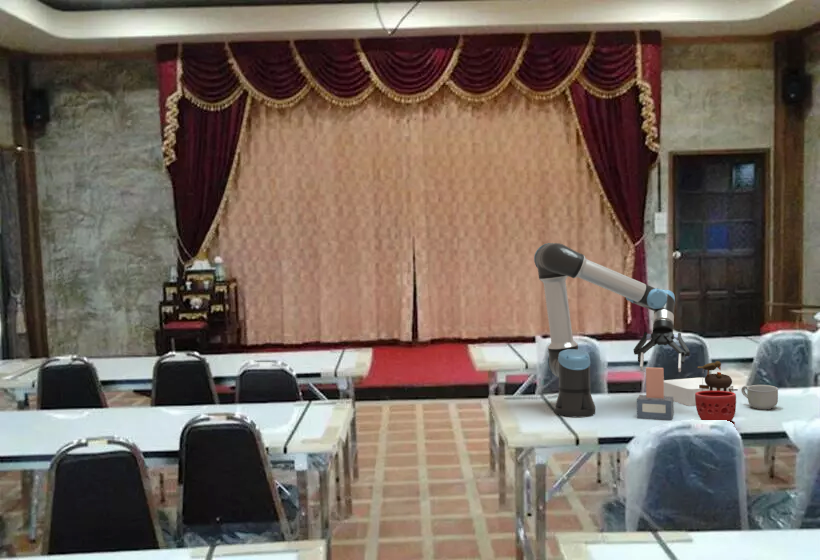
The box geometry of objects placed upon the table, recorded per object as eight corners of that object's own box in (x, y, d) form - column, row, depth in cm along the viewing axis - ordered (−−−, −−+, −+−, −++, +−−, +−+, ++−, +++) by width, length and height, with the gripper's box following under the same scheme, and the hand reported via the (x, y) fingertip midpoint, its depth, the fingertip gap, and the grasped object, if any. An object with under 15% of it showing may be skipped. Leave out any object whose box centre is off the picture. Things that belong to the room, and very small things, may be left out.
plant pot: (740, 425, 269) (740, 391, 269) (730, 433, 259) (730, 397, 258) (701, 421, 277) (701, 387, 277) (690, 428, 267) (690, 394, 266)
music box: (703, 418, 282) (703, 363, 281) (691, 411, 293) (691, 358, 292) (745, 416, 282) (744, 361, 281) (731, 410, 293) (731, 357, 292)
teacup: (784, 409, 293) (784, 388, 292) (762, 412, 289) (762, 390, 288) (755, 402, 306) (755, 382, 305) (734, 405, 302) (734, 384, 301)
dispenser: (636, 418, 284) (636, 398, 284) (639, 413, 292) (639, 394, 291) (671, 420, 279) (671, 400, 279) (673, 415, 287) (673, 395, 287)
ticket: (646, 411, 286) (645, 368, 285) (647, 410, 288) (646, 367, 287) (663, 412, 284) (663, 368, 283) (664, 411, 285) (663, 368, 284)
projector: (739, 402, 307) (739, 385, 307) (689, 407, 302) (689, 389, 301) (706, 393, 328) (706, 376, 327) (659, 397, 322) (659, 380, 322)
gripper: (697, 331, 301) (696, 376, 288) (631, 329, 311) (626, 373, 298) (697, 318, 296) (695, 364, 283) (629, 318, 305) (624, 362, 293)
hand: (660, 369), depth 290 cm, fingers open, 13 cm apart
